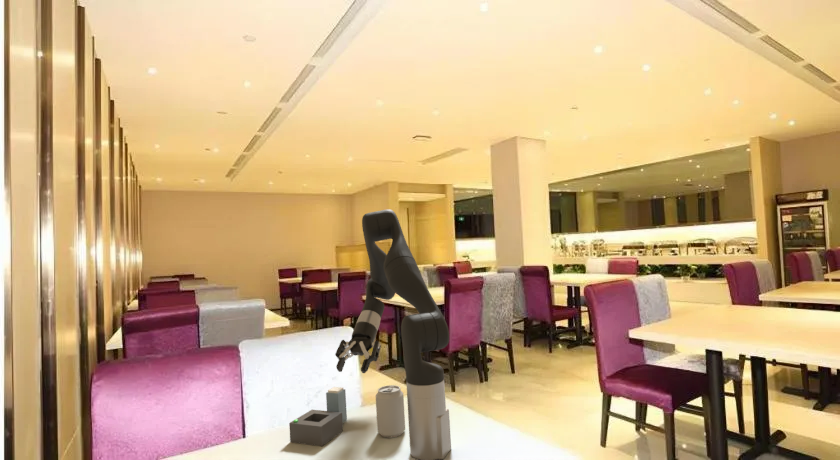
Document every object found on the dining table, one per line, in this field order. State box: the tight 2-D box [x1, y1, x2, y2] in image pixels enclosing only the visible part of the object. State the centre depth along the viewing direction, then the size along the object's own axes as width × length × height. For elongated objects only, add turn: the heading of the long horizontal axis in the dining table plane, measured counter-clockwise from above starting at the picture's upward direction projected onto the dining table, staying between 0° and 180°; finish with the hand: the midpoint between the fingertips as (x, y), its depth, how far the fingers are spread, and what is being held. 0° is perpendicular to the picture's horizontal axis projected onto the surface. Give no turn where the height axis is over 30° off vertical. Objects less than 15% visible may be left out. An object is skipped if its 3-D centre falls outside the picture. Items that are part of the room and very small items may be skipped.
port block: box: [289, 409, 344, 447], centre depth 123 cm, size 10×10×5 cm
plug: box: [325, 386, 348, 424], centre depth 132 cm, size 4×4×10 cm
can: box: [375, 384, 406, 439], centre depth 123 cm, size 8×8×12 cm
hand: (350, 371), depth 141 cm, fingers open, 8 cm apart
